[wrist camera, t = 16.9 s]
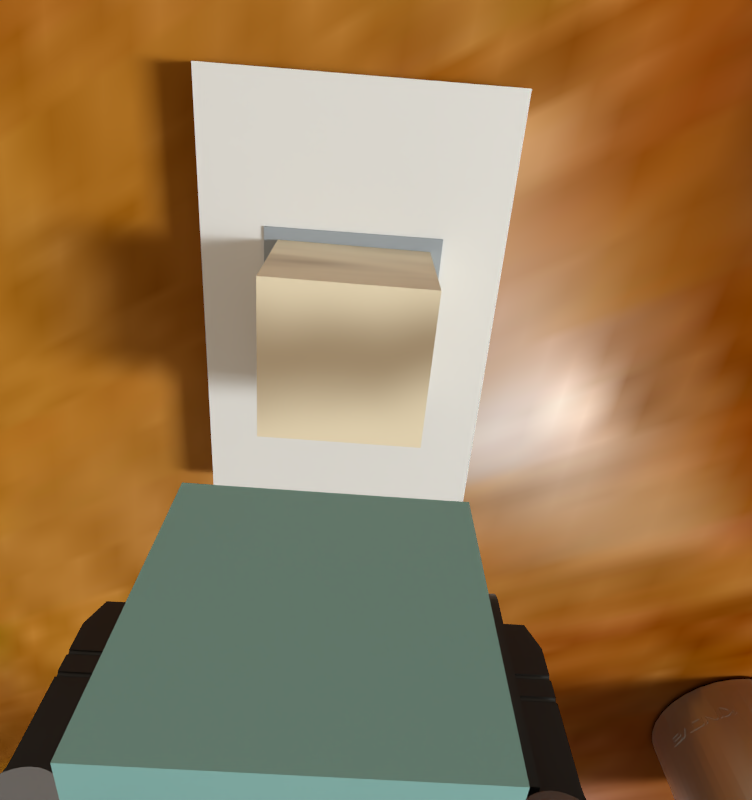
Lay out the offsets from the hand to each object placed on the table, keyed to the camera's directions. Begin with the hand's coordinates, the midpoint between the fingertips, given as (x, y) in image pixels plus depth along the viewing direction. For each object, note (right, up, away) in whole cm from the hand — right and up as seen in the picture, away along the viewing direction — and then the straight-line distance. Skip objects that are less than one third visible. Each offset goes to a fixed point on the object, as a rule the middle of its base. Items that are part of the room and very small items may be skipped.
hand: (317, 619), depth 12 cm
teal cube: (0, 0, 0) cm, 0 cm away
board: (0, +8, +16) cm, 18 cm away
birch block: (0, +7, +14) cm, 16 cm away
